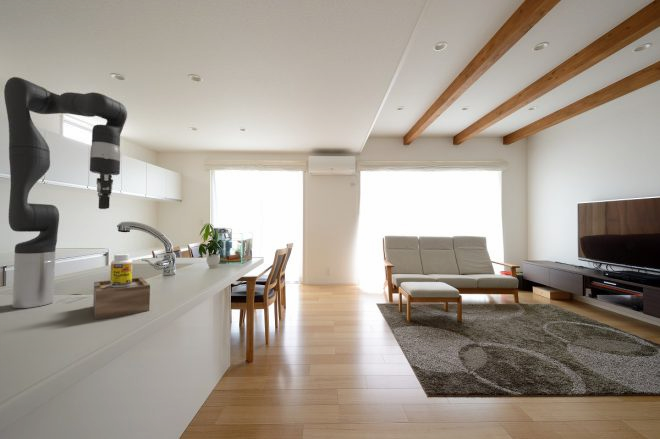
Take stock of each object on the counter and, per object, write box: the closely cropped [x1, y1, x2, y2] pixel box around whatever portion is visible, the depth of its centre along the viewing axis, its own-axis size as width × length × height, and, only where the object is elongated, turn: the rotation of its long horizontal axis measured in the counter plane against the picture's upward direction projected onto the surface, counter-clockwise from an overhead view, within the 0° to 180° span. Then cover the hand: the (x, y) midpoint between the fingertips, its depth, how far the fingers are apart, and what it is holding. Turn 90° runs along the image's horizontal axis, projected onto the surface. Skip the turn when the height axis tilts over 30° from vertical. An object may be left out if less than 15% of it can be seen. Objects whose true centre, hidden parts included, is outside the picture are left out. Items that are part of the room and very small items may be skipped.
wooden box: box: [92, 277, 151, 320], centre depth 88 cm, size 16×13×8 cm
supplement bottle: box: [110, 253, 133, 288], centre depth 88 cm, size 6×6×10 cm
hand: (103, 208), depth 88 cm, fingers open, 8 cm apart
